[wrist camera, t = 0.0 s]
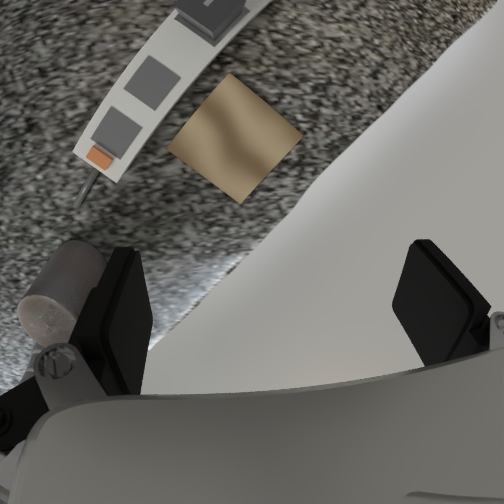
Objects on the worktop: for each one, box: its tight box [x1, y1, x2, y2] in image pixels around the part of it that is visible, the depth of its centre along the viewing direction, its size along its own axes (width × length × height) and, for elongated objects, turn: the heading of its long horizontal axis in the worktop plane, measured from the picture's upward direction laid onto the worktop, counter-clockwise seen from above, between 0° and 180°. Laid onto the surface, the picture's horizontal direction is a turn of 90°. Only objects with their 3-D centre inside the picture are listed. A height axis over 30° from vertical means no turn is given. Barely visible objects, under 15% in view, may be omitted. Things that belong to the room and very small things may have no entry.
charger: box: [173, 0, 246, 41], centre depth 24 cm, size 4×5×8 cm
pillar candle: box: [17, 240, 107, 347], centre depth 39 cm, size 10×10×15 cm
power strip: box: [73, 0, 273, 209], centre depth 32 cm, size 38×7×4 cm, turn 139°
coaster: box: [166, 73, 303, 204], centre depth 38 cm, size 12×12×1 cm
